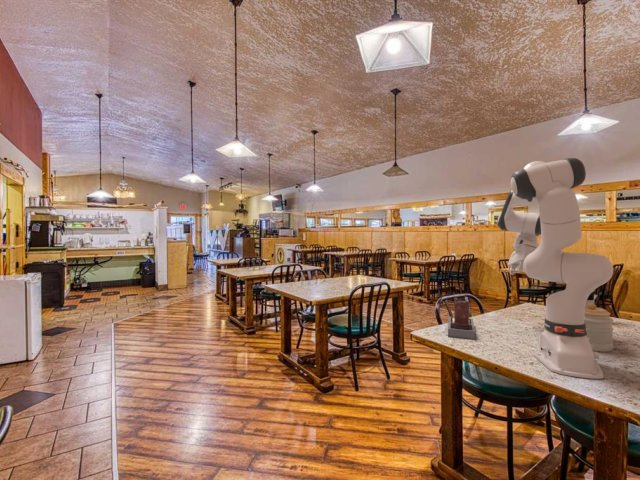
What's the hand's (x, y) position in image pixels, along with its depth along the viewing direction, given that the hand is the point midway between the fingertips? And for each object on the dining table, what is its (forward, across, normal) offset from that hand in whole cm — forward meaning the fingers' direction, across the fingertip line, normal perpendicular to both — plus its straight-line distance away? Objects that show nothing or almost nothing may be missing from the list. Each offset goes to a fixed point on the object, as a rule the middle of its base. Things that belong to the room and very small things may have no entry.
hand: (515, 273), depth 151 cm
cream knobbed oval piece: (+32, -6, -14) cm, 36 cm away
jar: (+22, +11, +31) cm, 39 cm away
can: (+35, +2, -14) cm, 38 cm away
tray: (+35, -2, -14) cm, 37 cm away
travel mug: (+17, -2, +34) cm, 38 cm away
